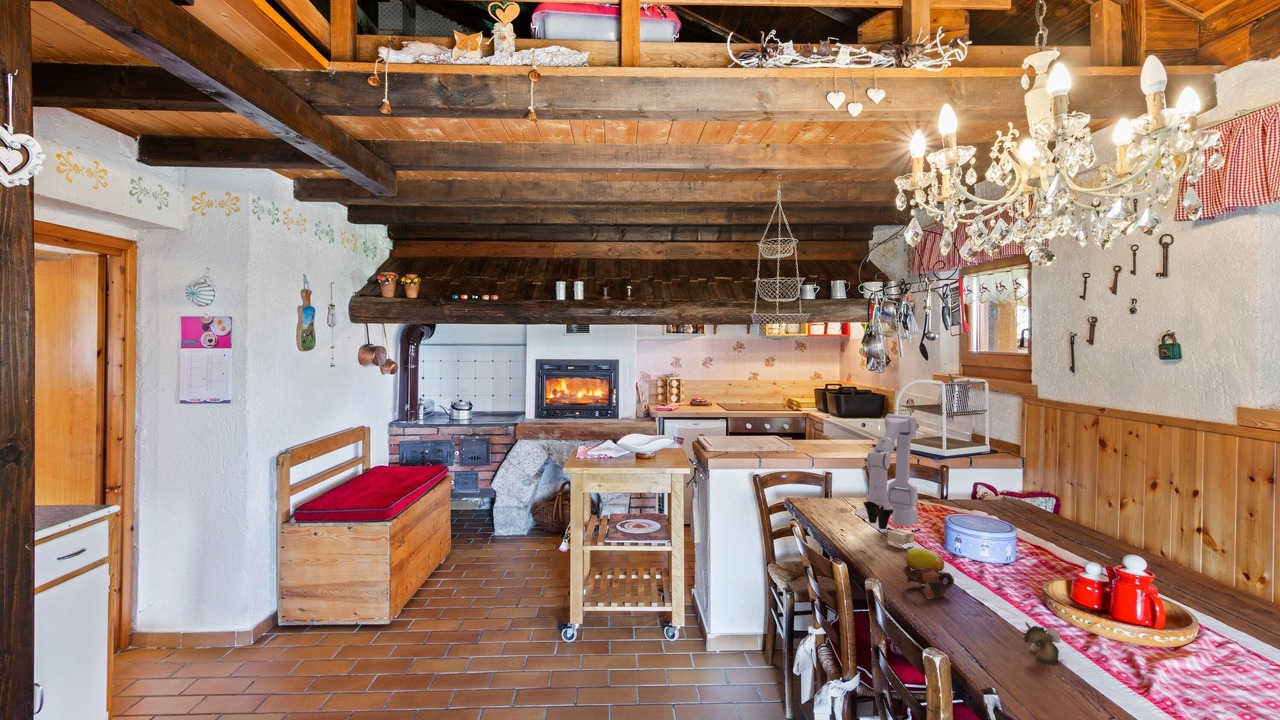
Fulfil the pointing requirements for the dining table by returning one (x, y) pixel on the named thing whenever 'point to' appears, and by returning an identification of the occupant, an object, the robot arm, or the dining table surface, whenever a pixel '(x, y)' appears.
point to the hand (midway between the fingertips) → (877, 525)
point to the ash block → (900, 536)
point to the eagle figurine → (1043, 643)
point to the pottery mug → (931, 581)
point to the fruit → (924, 559)
